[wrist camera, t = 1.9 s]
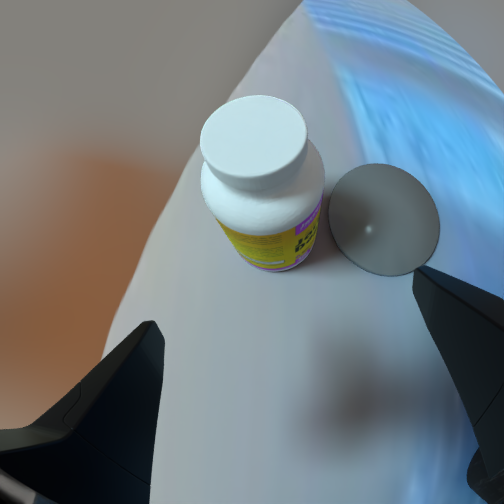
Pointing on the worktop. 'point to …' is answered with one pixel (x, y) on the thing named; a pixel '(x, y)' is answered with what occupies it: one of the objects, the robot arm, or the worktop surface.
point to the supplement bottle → (263, 180)
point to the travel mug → (485, 480)
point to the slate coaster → (383, 219)
